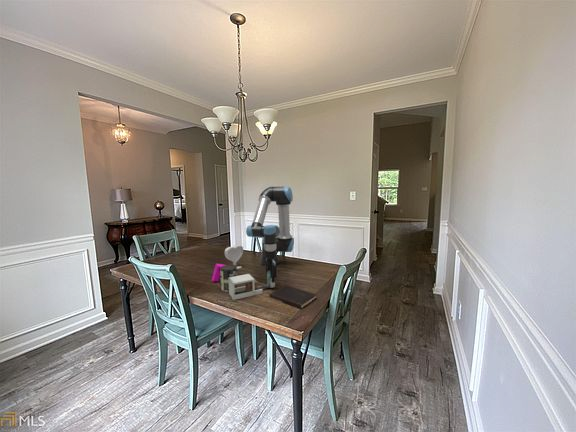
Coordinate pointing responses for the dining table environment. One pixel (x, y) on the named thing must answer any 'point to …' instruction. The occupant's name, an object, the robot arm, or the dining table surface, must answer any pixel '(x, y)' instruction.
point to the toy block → (217, 272)
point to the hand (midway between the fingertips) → (271, 285)
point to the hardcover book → (293, 296)
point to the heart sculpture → (234, 254)
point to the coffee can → (227, 276)
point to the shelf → (239, 280)
